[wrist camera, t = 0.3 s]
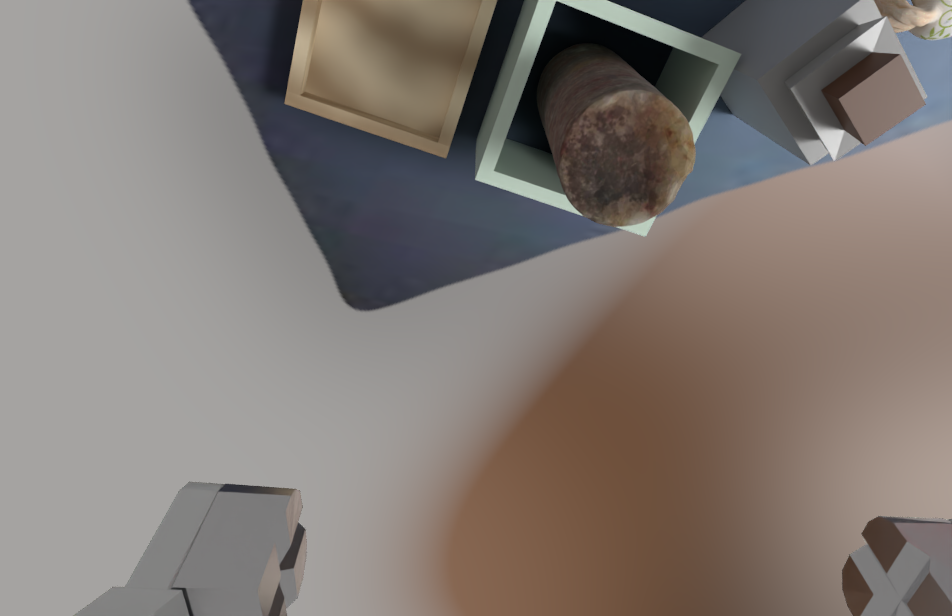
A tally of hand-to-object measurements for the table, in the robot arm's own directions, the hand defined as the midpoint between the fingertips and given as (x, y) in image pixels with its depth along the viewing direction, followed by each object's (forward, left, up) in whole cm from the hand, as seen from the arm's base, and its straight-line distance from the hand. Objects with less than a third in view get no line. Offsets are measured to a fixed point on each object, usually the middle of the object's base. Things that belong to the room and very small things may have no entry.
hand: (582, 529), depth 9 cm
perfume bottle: (-7, +18, -45) cm, 49 cm away
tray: (0, -8, -45) cm, 45 cm away
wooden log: (0, +7, -45) cm, 46 cm away
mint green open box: (0, +7, -45) cm, 45 cm away
